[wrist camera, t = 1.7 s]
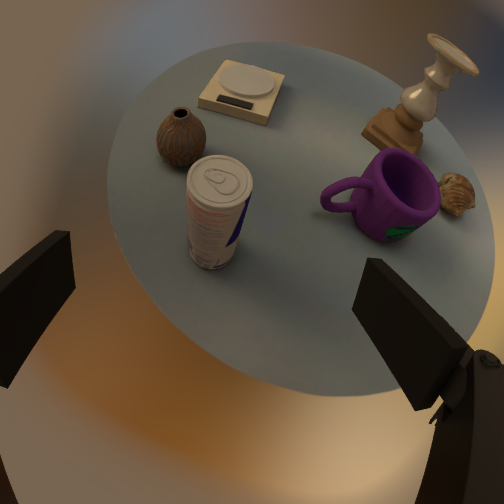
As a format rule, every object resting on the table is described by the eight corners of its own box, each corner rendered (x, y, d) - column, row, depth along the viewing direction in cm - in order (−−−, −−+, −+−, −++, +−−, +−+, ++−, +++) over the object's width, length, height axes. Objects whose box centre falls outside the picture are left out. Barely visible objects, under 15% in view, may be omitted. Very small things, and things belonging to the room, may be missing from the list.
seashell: (461, 205, 51) (438, 176, 52) (485, 189, 45) (460, 158, 46) (452, 231, 47) (426, 199, 48) (479, 215, 41) (451, 179, 42)
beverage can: (235, 269, 38) (257, 207, 24) (189, 271, 37) (185, 208, 23) (232, 228, 40) (250, 153, 26) (188, 229, 39) (186, 153, 25)
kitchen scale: (197, 107, 48) (198, 94, 45) (224, 68, 53) (226, 56, 50) (265, 126, 48) (269, 113, 45) (282, 83, 54) (285, 72, 51)
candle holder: (406, 171, 50) (481, 82, 29) (360, 134, 52) (420, 34, 30) (419, 145, 55) (482, 67, 33) (379, 113, 56) (432, 28, 34)
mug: (393, 186, 48) (424, 151, 39) (413, 246, 44) (453, 218, 35) (300, 181, 45) (323, 136, 36) (316, 252, 41) (348, 216, 31)
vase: (149, 157, 42) (142, 115, 34) (181, 132, 45) (181, 90, 37) (181, 182, 41) (180, 139, 33) (214, 154, 44) (219, 111, 36)
